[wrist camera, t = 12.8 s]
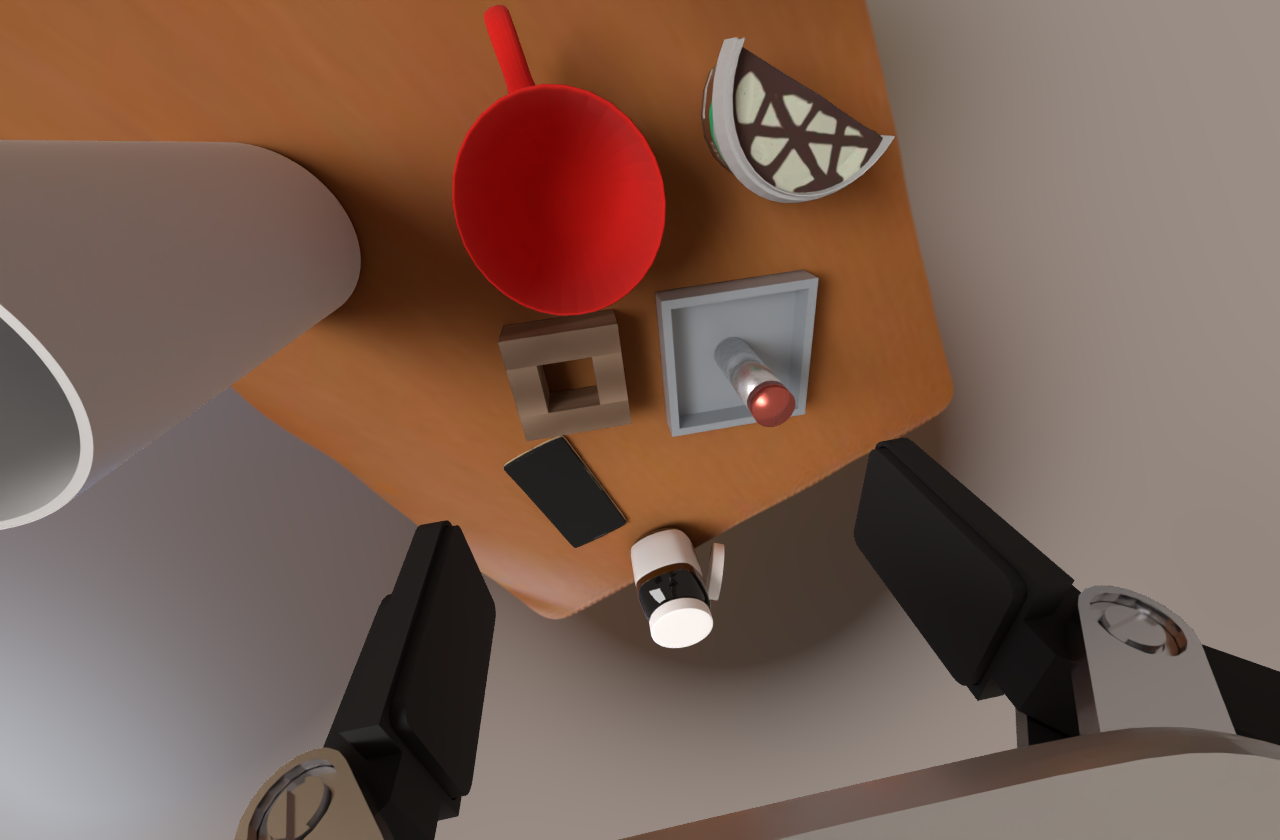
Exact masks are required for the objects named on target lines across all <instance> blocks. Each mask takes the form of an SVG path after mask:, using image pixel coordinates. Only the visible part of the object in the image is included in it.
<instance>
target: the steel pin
mask: <svg viewBox="0 0 1280 840" xmlns="http://www.w3.org/2000/svg"><path fill="white" fill-rule="evenodd" d="M714 358H715V361H716V363H717V365H718V366H719V368H720V369H721V371H722V372H723V373H724V375H725V376H726V378H727V379H728V381H729V382H730V384H731V385H732V387H733V388H734V389H735V391H736V392H737V394H738V395H739V397H740V398H741V400H742V401H743V403H744V404H745V405H746V407H747V408H748V410H749V411H750V413H751V414H752V416H753V417H754V419H755V420H756V421H757V423H759V424H760V425H762V426H765V427H774V426H777V425H780V424H782V423H784V422H785V421H786V420H788V419H789V418H790V416H791V415H792V413H793V412H794V409H795V398H794V396H793V395H792V394H791V393H790V391H789V390H788V389H787V388H786V387H785V386H784V385H783V384H782V383H781V381H780V380H779V379H778V378H777V377H776V376H775V375H774V374H773V373H772V371H771V370H770V369H769V368H768V367H767V366H766V365H765V364H764V363H763V362H762V360H761V359H760V358H759V357H758V356H757V355H756V354H755V353H754V352H753V350H752V349H751V348H750V347H749V346H748V345H747V344H746V343H745V342H744V341H743V340H742V339H740V338H738V337H729V338H726V339H724V340H723V341H721V342H720V343H719V344H718V346H717V347H716V349H715V353H714Z"/></svg>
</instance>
